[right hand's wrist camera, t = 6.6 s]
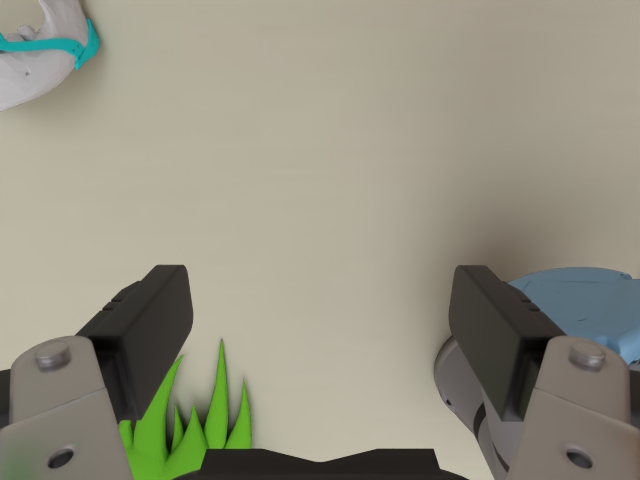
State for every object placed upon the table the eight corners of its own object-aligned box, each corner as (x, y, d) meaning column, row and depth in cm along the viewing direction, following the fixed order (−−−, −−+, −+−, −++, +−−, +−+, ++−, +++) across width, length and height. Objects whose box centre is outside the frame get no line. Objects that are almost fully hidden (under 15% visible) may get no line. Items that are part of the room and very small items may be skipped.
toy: (261, 523, 57) (329, 367, 49) (253, 560, 52) (328, 393, 44) (86, 465, 56) (127, 295, 48) (61, 497, 51) (102, 314, 43)
